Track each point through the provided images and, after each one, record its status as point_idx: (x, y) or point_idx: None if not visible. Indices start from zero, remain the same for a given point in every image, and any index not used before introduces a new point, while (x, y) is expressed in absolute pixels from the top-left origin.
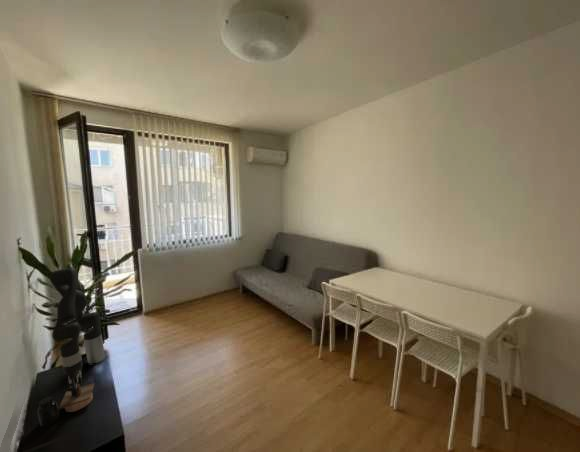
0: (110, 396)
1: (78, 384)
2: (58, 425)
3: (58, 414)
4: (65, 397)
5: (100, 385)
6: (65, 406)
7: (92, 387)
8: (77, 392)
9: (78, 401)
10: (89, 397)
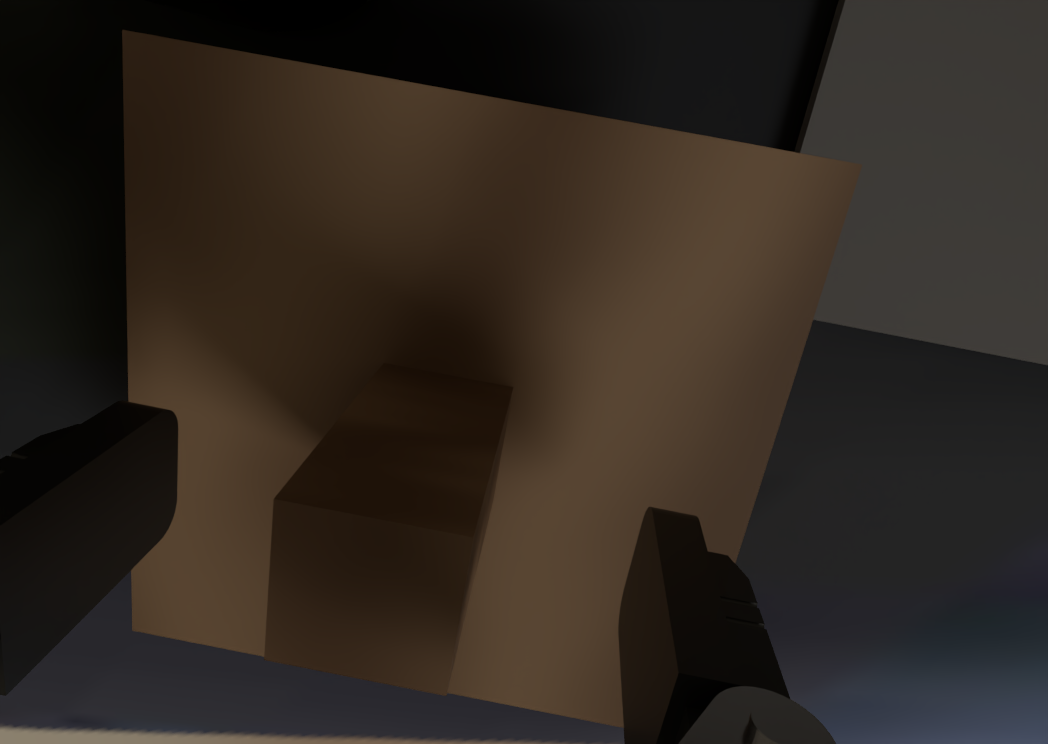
0: (350, 726)
1: (408, 665)
2: (84, 34)
3: (206, 17)
4: (540, 161)
5: (815, 646)
6: (136, 183)
7: (498, 698)
8: (129, 555)
9: None
10: (143, 630)
